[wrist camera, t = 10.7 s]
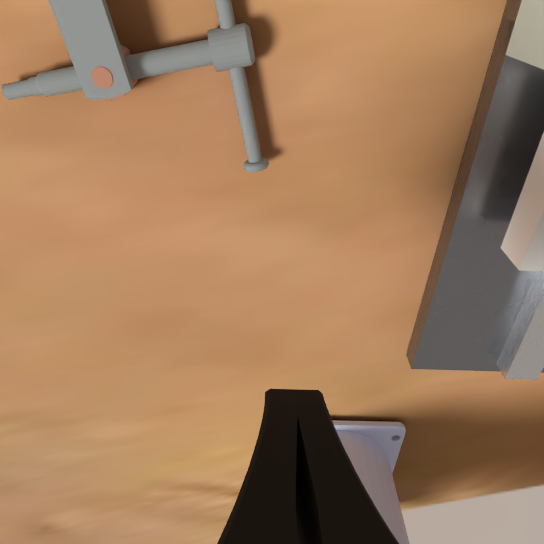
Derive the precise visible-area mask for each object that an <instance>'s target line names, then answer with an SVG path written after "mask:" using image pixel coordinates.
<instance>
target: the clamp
mask: <svg viewBox="0 0 544 544" xmlns="http://www.w3.org/2000/svg"><path fill="white" fill-rule="evenodd" d="M49 3H50V6H51V8H52V11H53V13H54V16H55V19H56V21H57V24H58V26H59V29H60V32H61V34H62V37H63V40H64V42H65V45H66V47H67V50H68V53H69V55H70V58H71V60H72V63H73V66H71V67H66V68H62V69H57V70H52V71H47V72H42V73H38V74H37V76H35V77H30V78H28V80H23V81H18V82H13V83H8V84H3V85H2V92H3V94H4V96H5V97H6V98H7V99H8V100H12V99H17V98H22V97H27V96H32V95H34V96H40V95H45V96H47V97H48V96H53V95H58V94H63V93H68V92H74V91H79V90H83V92H84V95H85V97H86V99H95V100H96V99H103V100H109V101H112V100H117V99H120V98H121V97H123V96H124V95H125V94H126V93H127V92H129V91H131V90H132V89H133V88H134V85H135V84H136V83H137V81H138V79H140V78H145V77H150V76H155V75H161V74H166V73H171V72H176V71H181V70H186V69H191V68H196V67H202V66H207V65H212V64H213V65H214V68H215V70H216V72H220V71H225V70H229V71H230V76H231V81H232V85H233V90H234V95H235V100H236V104H237V109H238V114H239V119H240V123H241V128H242V133H243V138H244V142H245V147H246V152H247V157H248V160H247V161H246V162H245V163H244V169H245V170H246V171H248V172H258V171H262V170H264V169H265V168H267V167H268V164H269V162H268V160H267V159H266V158H264V157H261V152H260V146H259V141H258V136H257V131H256V126H255V121H254V115H253V110H252V105H251V100H250V95H249V90H248V84H247V79H246V74H245V69H244V67H246V66H251V65H253V63H254V62H255V52H254V46H253V40H252V35H251V30H250V27H249V26H248V25H247V24H246V23H241V24H236V23H235V17H234V12H233V7H232V2H231V0H215V4H216V9H217V14H218V19H219V24H220V28H216V29H211V30H208V39H206V40H201V41H196V42H191V43H186V44H181V45H176V46H171V47H166V48H161V49H156V50H151V51H146V52H141V53H136V54H130V51H129V49H128V48H126V47H125V46H123V45H121V44H120V43H119V40H118V37H117V34H116V31H115V28H114V24H113V21H112V18H111V15H110V12H109V9H108V6H107V3H106V0H49Z"/></svg>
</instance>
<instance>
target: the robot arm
mask: <svg viewBox="0 0 544 544" xmlns="http://www.w3.org/2000/svg"><path fill="white" fill-rule="evenodd" d="M405 433H406V429H405V426H404V424H403V423H401V422H380V421H339V420H331V417H330V415H329V412H328V409H327V407H326V404H325V401H324V398H323V394H322V393H321V392H320V391H319V390H292V389H269V390H268V391H266V392H265V406H264V413H263V419H262V423H261V427H260V431H259V436H258V439H257V443H256V446H255V449H254V452H253V456H252V459H251V462H250V465H249V468H248V471H247V474H246V476H245V479H244V482H243V484H242V487H241V490H240V492H239V495H238V497H237V500H236V503H235V505H234V507H233V510H232V512H231V514H230V517H229V519H228V521H227V524H226V526H225V528H224V530H223V532H222V535H221V537H220V539H219V541H218V543H217V544H409V540H408V536H407V532H406V528H405V524H404V520H403V516H402V512H401V508H400V504H399V500H398V496H397V492H396V488H395V484H394V479H393V475H392V474H393V470H394V467H395V464H396V461H397V458H398V455H399V452H400V449H401V446H402V443H403V440H404V437H405Z"/></svg>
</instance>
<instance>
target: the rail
mask: <svg viewBox="0 0 544 544" xmlns="http://www.w3.org/2000/svg"><path fill="white" fill-rule="evenodd" d="M521 1H522V0H507V3H506V7H505V10H504V14H503V17H502V21H501V24H500V28H499V31H498V35H497V38H496V42H495V46H494V49H493V53H492V56H491V60H490V63H489V67H488V70H487V74H486V77H485V81H484V84H483V88H482V91H481V95H480V98H479V102H478V105H477V109H476V112H475V116H474V119H473V123H472V126H471V130H470V133H469V137H468V140H467V144H466V147H465V151H464V154H463V158H462V161H461V165H460V168H459V172H458V175H457V179H456V182H455V186H454V189H453V193H452V196H451V200H450V203H449V207H448V210H447V214H446V217H445V221H444V225H443V228H442V232H441V235H440V239H439V242H438V246H437V249H436V253H435V256H434V260H433V263H432V267H431V270H430V274H429V277H428V281H427V284H426V288H425V291H424V295H423V298H422V302H421V305H420V309H419V312H418V316H417V319H416V323H415V326H414V330H413V333H412V337H411V340H410V344H409V347H408V351H407V354H406V355H407V358H408V361H409V364H410V366H411V369H438V370H473V371H501V373H502V375H503V376H504V378H505V379H532V380H537V379H538V377H539V375H540V373H541V372H543V373H544V271H520V270H518V269H517V267H516V266H515V265H514V264H513V263H512V261H511V260H510V259H509V258H508V257H507V255H506V254H505V253H504V252H503V250H502V249H501V245H502V242H503V240H504V237H505V234H506V232H507V229H508V226H509V224H510V221H511V218H512V216H513V213H514V210H515V208H516V205H517V202H518V199H519V197H520V194H521V191H522V189H523V186H524V183H525V181H526V178H527V175H528V173H529V170H530V167H531V164H532V162H533V159H534V156H535V154H536V151H537V148H538V146H539V143H540V140H541V138H542V135H543V132H544V70H543V69H541V68H538V67H536V66H533V65H530V64H528V63H525V62H523V61H520V60H517V59H515V58H512V57H510V56H507V55H506V51H507V48H508V45H509V41H510V38H511V35H512V31H513V27H514V25H515V21H516V18H517V14H518V11H519V8H520V4H521Z"/></svg>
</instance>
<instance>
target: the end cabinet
mask: <svg viewBox="0 0 544 544" xmlns="http://www.w3.org/2000/svg"><path fill="white" fill-rule="evenodd" d="M506 55H507V56H510V57H512V58H515V59H517V60H520V61H523V62H525V63H528V64H530V65H533V66H536V67H538V68H541V69H543V70H544V0H522V1H521V4H520V8H519V11H518V14H517V18H516V21H515V25H514V27H513V31H512V35H511V38H510V41H509V45H508V48H507V51H506Z"/></svg>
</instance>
